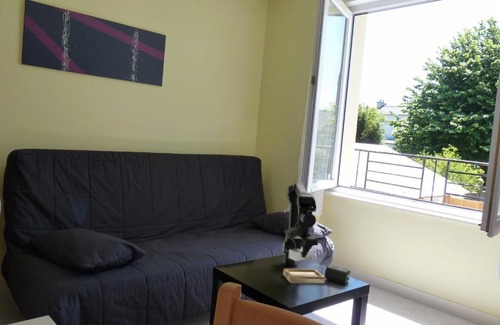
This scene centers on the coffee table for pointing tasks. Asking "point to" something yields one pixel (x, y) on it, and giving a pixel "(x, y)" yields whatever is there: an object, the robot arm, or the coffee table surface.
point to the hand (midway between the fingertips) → (300, 255)
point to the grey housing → (299, 254)
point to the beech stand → (303, 276)
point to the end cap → (337, 275)
